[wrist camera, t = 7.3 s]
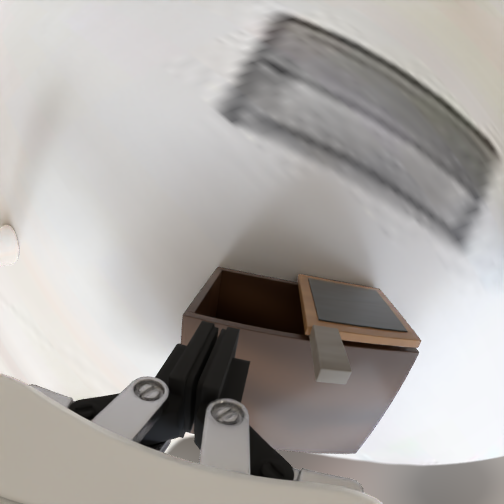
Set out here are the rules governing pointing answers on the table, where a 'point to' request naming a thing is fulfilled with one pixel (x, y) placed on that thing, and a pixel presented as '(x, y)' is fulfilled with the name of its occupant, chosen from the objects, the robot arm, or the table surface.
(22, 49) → the table surface
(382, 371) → the cabinet
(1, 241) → the beer glass
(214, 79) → the table surface
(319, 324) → the sliding door
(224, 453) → the robot arm
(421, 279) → the table surface
